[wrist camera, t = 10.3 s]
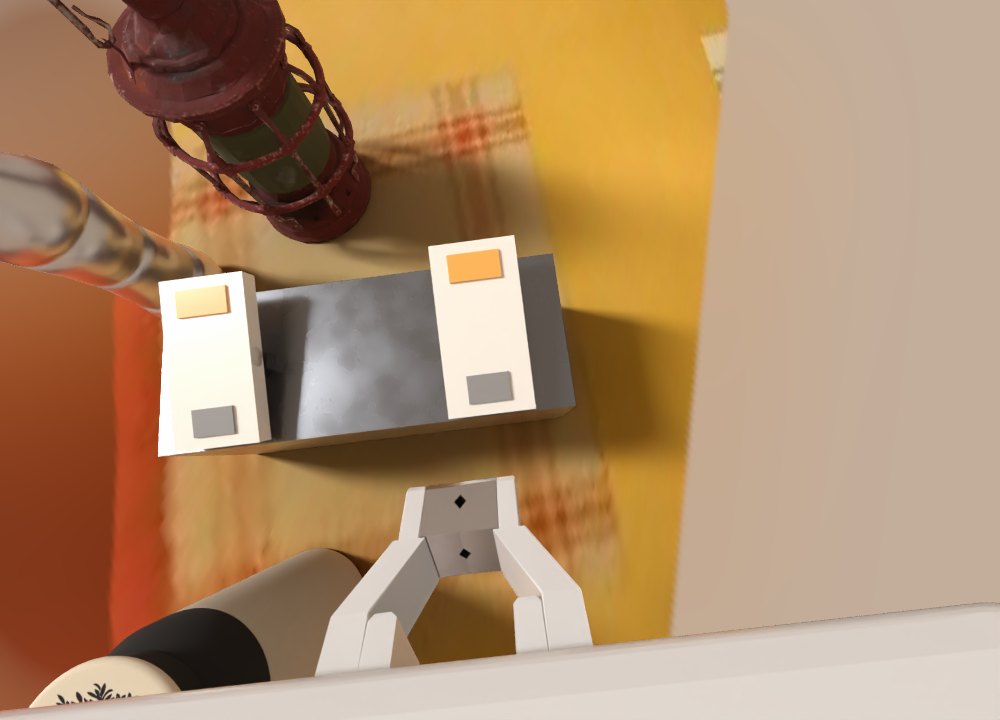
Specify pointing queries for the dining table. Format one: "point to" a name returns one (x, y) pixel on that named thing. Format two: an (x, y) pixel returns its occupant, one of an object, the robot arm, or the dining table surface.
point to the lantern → (240, 106)
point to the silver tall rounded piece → (85, 235)
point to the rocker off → (214, 361)
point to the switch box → (380, 362)
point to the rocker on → (481, 327)
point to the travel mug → (223, 636)
